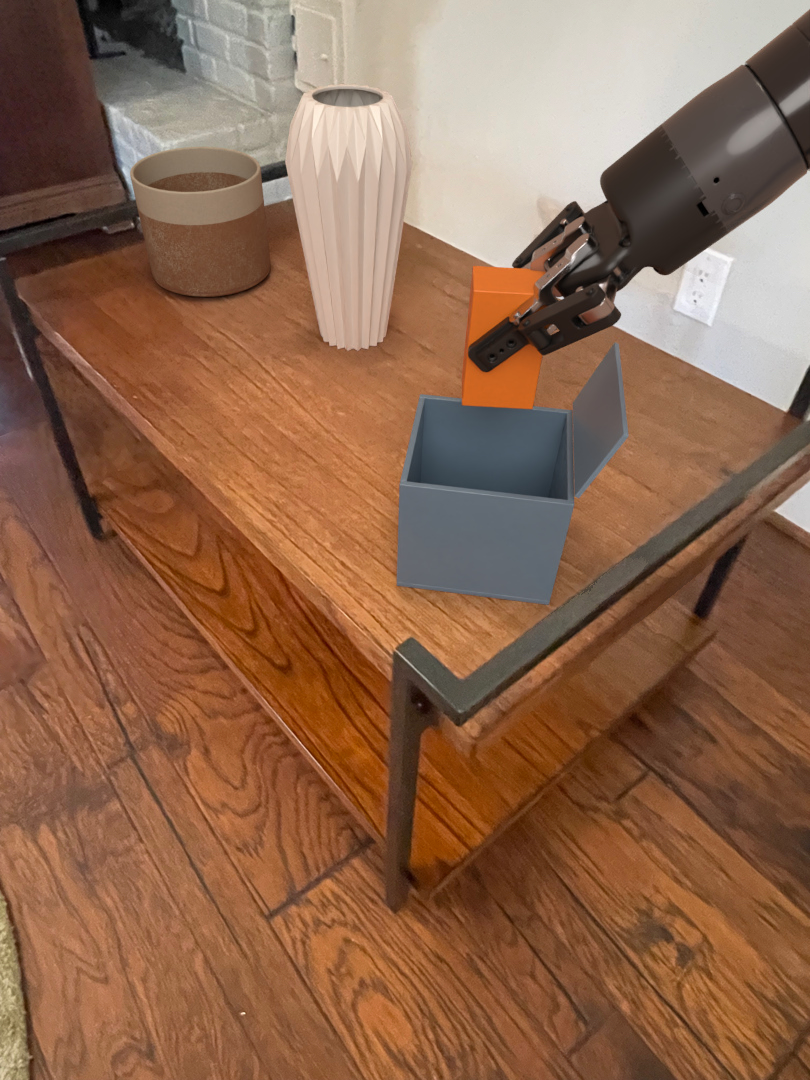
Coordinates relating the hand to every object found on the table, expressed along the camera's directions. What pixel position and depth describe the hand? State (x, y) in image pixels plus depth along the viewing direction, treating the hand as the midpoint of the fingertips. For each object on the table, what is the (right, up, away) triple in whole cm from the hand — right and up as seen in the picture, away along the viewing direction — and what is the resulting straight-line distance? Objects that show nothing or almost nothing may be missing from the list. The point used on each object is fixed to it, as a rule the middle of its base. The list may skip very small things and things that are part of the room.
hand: (476, 344), depth 53 cm
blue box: (+2, -14, +15) cm, 21 cm away
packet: (+2, -3, +3) cm, 4 cm away
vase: (-11, +12, +40) cm, 43 cm away
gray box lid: (+9, -5, +3) cm, 11 cm away
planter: (-31, +23, +50) cm, 63 cm away
